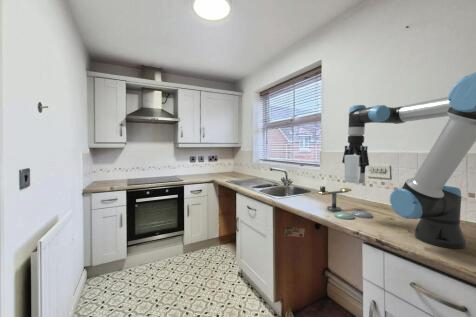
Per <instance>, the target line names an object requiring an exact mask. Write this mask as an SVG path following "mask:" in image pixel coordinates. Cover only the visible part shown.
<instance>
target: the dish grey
mask: <svg viewBox="0 0 476 317" xmlns="http://www.w3.org/2000/svg"><path fill="white" fill-rule="evenodd" d="M351 214H353V215H354V217H356V218H359V219H360V218H361V219H371V218H373V214H372V213H370V212H369V211H368V212H367V211H363V210H352V211H351Z"/></svg>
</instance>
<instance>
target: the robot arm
mask: <svg viewBox="0 0 476 317" xmlns="http://www.w3.org/2000/svg"><path fill="white" fill-rule="evenodd" d="M348 111H349V112H348V129H347V130H348V131H347V135H348V136H347V143H348V144H349V145H344V152H343V156H342V161H341V162H342V163H343V164H344V165H345V155H358V156H359V155H361V157H360V158H359V163H360V166H359V174H358V179H364V173H365V174H366V167H369V166H370V162H369V154H368V148H369V147H368V145H363V144H364V142H365V136H364V135H365V130H366V128H365V127H366V124H370V123H373V124H374V123H375V124H376V123H378V124H396V125H397V124H398V125H399V124H404V123H407V122H413V121H414V122H415V121H420V120H429V119H436V118H437V119H438V118H443V117H449V118H448V120H447V122H446V124H445V126H444V127H443V129H442V131H441V132H440V134H439V135H438V138H437V139H436V140H435V142H434V144H433V145H432V147H431V148H430V150H429V152H428V153H427V155H426V157H425V159H424V161H423V162H422V163H421V165H420V167H419V168H418V170H417V172H416V173H415V175H414V177H411V178H407V179H406V180H405V183H404V184H403V185H402V187H400V188H396V189H395V190H393V191H391V194H390V196H389V203H390V205H391V208H392V210H393V211H394V212H395V214H396V215H398V216H400V217H401V218H403V219H406V220H407V219H408V220H419V221H418V223H417V225H416V227H415V230H414V238H416V239H418V240H419V241H421V242H424V243H427V244H430V245H433V246H437V247H442V248H448V249H455V250H456V249H465V248H466V238H465V235H464V233H463V230H462V227H461V210H462V208H461V207H462V198H463V197H462V191H461V189H460V188H459V187H456V186H450V185H446V184H447V182H448V181H449V180H450V178H451V176H452V175H453V174H454V173H455V171H456V170H457V168H458V167H459V165H460V164H461V162H462V161H463V159H464V158H465V157H466V156H467V154H468V153H469V151H470V150H471V148H472V147H473V146H474V144H475V143H476V71H474V72H472V73H471V72H470V74H467V75H465V76H463V77H461V79H459V80H458V81H456V82H455V83H454V85H453V86H452V87H451V88H450V91H449V92H448V96H445V97H441V98H440V97H439V98H435V99H430V100H426V101H422V102H416V103H411V104H405V105H402V106H397V107H389V106H386V105H385V104H381V105H373V106H369V107H366V105H364V104H357V105H351V106H350V107H349V109H348Z"/></svg>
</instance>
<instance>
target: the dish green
mask: <svg viewBox="0 0 476 317" xmlns="http://www.w3.org/2000/svg"><path fill="white" fill-rule="evenodd" d="M333 217H335V218H337V219H341V220H347V221H348V220H354V219H355V216H354V215H353V214H352V213H350V212H346V211H334V213H333Z"/></svg>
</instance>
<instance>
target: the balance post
mask: <svg viewBox="0 0 476 317" xmlns="http://www.w3.org/2000/svg"><path fill="white" fill-rule="evenodd" d="M331 197H332V198H331V205H327V206H326V207H327V208H326V209H327V210H328V211H332V212H342V207H339V206H338V205H337V193H336V194H331Z"/></svg>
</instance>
